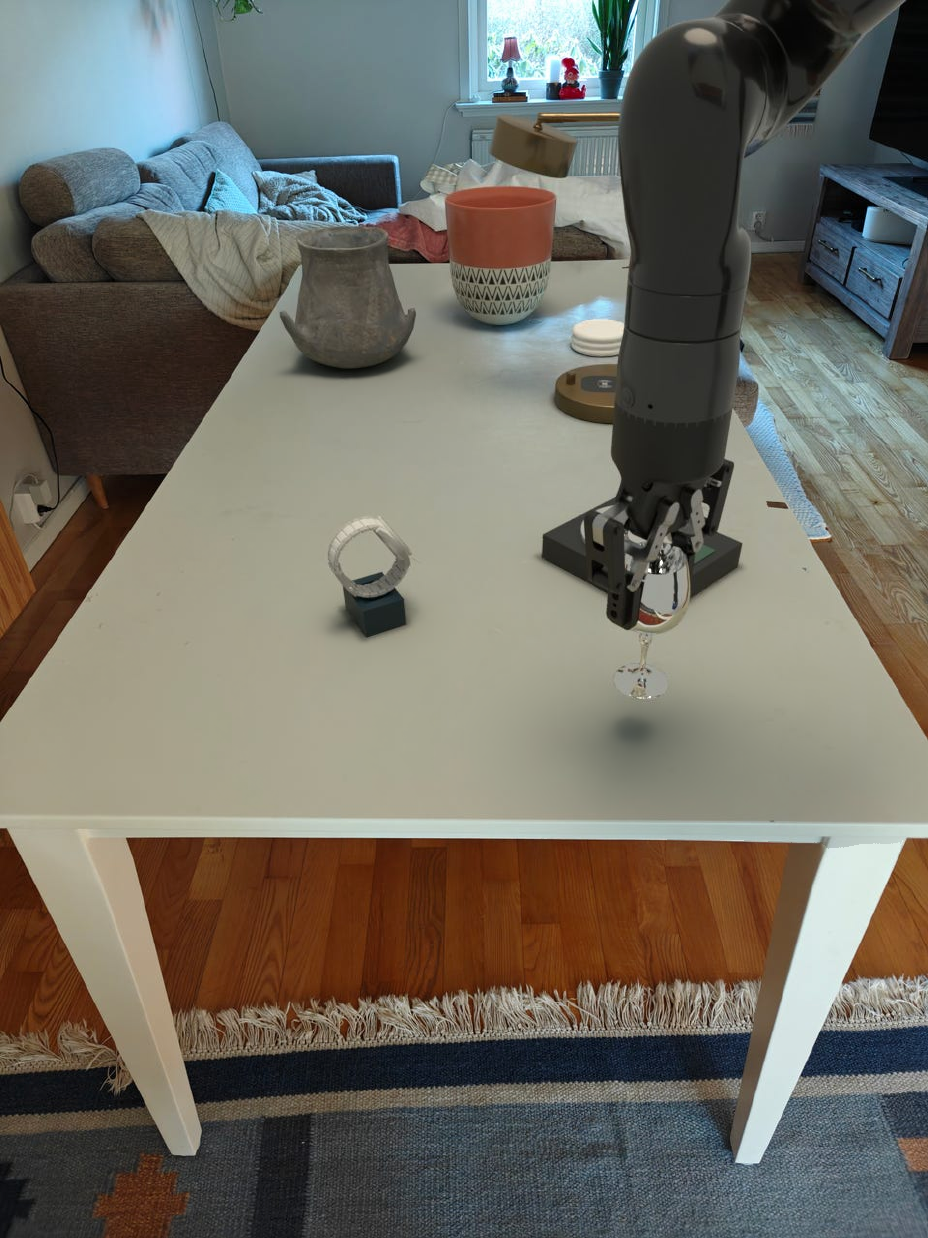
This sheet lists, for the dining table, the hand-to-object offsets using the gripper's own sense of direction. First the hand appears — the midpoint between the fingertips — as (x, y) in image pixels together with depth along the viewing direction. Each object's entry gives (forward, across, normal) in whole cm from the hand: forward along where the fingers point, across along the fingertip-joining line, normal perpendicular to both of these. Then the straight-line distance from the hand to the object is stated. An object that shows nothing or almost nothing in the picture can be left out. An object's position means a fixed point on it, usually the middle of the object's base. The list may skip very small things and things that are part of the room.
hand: (649, 605), depth 65 cm
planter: (+12, +68, +88) cm, 111 cm away
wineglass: (+8, 0, 0) cm, 8 cm away
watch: (+13, -6, +28) cm, 32 cm away
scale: (+13, +21, +16) cm, 29 cm away
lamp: (+13, +50, +51) cm, 73 cm away
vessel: (+12, +36, +91) cm, 99 cm away
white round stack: (+13, +70, +64) cm, 96 cm away
